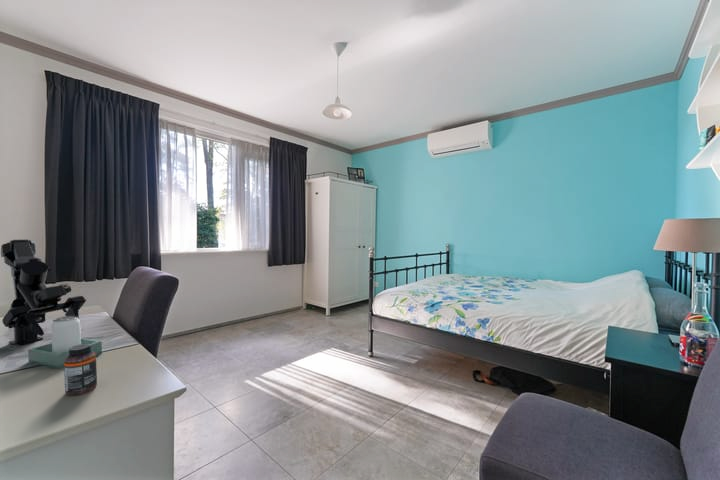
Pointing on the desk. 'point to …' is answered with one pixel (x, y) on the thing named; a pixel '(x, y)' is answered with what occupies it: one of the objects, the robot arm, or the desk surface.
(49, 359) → the tray
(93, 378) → the supplement bottle
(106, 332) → the desk surface
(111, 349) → the desk surface
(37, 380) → the desk surface
